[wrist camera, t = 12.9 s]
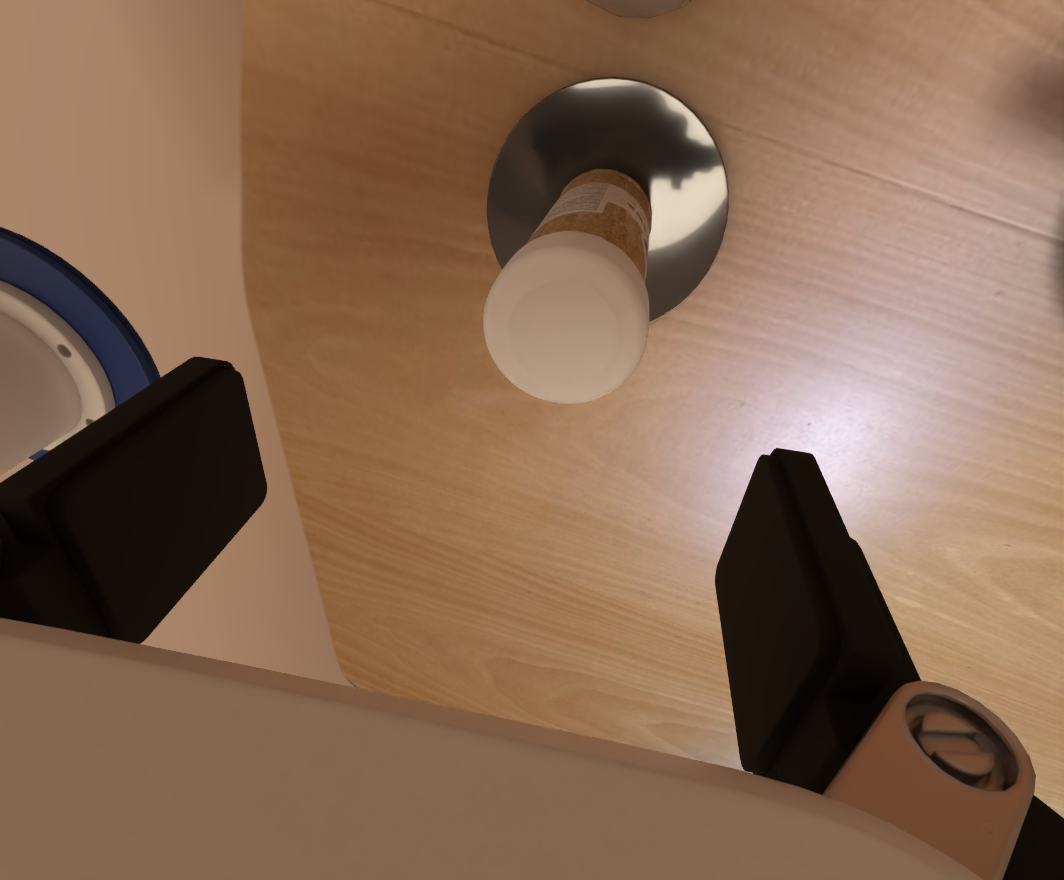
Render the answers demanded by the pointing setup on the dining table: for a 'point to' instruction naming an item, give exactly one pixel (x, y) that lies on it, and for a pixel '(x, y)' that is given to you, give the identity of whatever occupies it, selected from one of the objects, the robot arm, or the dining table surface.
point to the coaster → (628, 147)
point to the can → (639, 6)
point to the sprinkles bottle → (576, 294)
